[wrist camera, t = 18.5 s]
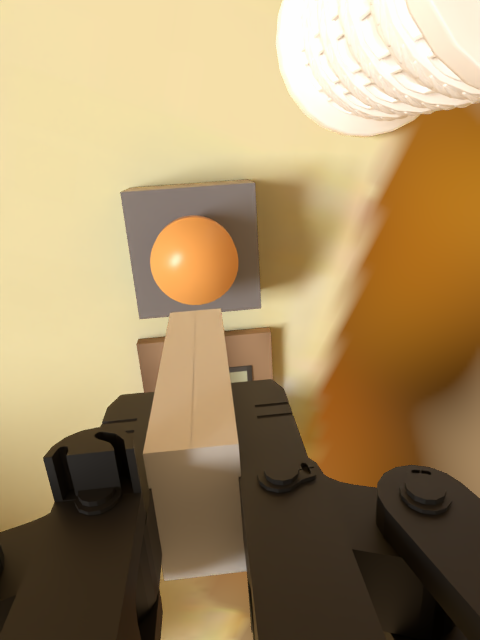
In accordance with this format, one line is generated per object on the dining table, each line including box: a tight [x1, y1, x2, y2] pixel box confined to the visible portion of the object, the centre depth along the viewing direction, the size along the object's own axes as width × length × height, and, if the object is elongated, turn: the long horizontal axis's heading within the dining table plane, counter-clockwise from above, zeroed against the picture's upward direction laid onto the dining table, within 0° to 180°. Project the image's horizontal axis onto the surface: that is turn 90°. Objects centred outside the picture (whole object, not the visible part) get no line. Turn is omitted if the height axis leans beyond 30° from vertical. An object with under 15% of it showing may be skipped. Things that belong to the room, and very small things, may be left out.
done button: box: [150, 215, 238, 305], centre depth 26 cm, size 5×5×2 cm
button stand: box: [120, 179, 261, 319], centre depth 30 cm, size 8×8×4 cm
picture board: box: [137, 327, 273, 393], centre depth 36 cm, size 10×16×1 cm, turn 4°
